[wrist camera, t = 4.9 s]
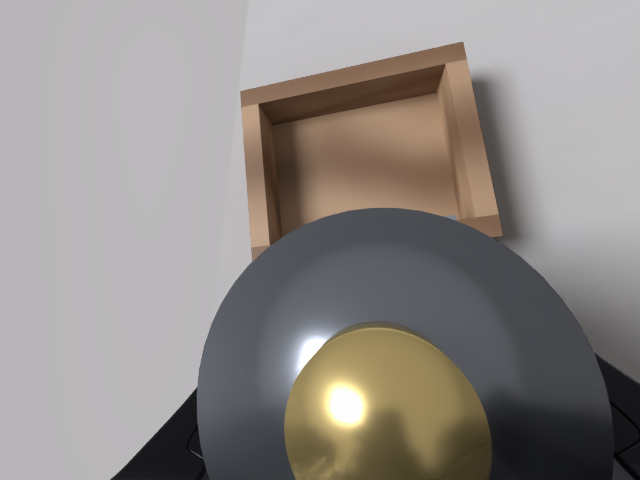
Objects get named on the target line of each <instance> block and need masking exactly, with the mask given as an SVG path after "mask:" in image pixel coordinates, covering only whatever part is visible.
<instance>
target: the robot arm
mask: <svg viewBox="0 0 640 480" xmlns="http://www.w3.org/2000/svg"><path fill="white" fill-rule="evenodd" d="M594 354H595V357H596V359H597V362H598V365H599V368H600V370H601V373H602V376H603V379H604V382H605V385H606V390H607V394H608V399H609V403H610V408H611V413H612V421H613V434H614V463H613V479H612V480H640V384H639V383H638V382H636V381H635V380H633V379H632V378H630V377H629V376H627V375H626V374H624V373H623V372H621V371H620V370H619V369H617V368H616V367H614V366H613V365H611V364H610V363H608V362H607V361H606V360H604V359H603V358H601V357H600V356H599V355H597V354H596V353H594ZM197 388H198V387H197ZM197 388H196V389H195V390H194V392H193V393H192V394H191V395H190V396H189V397H188V399H187V400H186V401H185V402H184V404H182V406H181V407H180V408H179V409H178V410H177V411H176V412H175V413H174V414H173V415H172V417H171V418H170V419H169V420H168V421H167V422H166V423H165V424H164V425H163V426H162V427H161V429H160V430H159V431H158V432H157V433H156V434H155V435H154V436H153V437H152V438H151V439H150V440H149V441H148V442H147V443H146V445H144V447H143V448H142V449H141V450H140V451H139V452H138V453H137V454H136V455H135V456H134V457H133V458H132V460H130V461H129V463H128V464H127V465H126V466H125V467H124V468H123V469H122V470H121V471H119V472H118V473H117V474H116V475H115V476H114V477H113V478H112V479H111V480H210V479H209V476H208V474H207V470H206V466H205V462H204V458H203V454H202V450H201V445H200V437H199V430H198V422H197Z"/></svg>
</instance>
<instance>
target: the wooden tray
mask: <svg viewBox="0 0 640 480" xmlns="http://www.w3.org/2000/svg"><path fill="white" fill-rule="evenodd" d="M240 94H241V108H242V122H243V137H244V151H245V165H246V179H247V193H248V207H249V222H250V236H251V250H252V262H253V261H254V260H255V259H256V258H257V257H258V256H259V255H260V254H261V253H262V252H263V251H264V250H266V249H267V248H268V247H270V246H271V245H272V244H274V243H275V242H276V241H278V240H279V239H281V238H282V237H283V236H285V235H287V234H289V233H290V232H292V231H294V230H296V229H298V228H299V227H301V226H303V225H305V224H308V223H310V222H313V221H315V220H318V219H320V218H323V217H326V216H330V215H334V214H337V213H341V212H345V211H350V210H358V209H366V208H402V209H410V210H418V211H424V212H428V213H431V214H435V215H439V216H449V215H456V217H457V222H460V223H463V224H465V225H468V226H470V227H473V228H475V229H476V230H478V231H480V232H482V233H484V234H486V235H488V236H490V237H491V238H493V239H495V238H498V237H501V236H503V233H502V228H501V223H500V218H499V213H498V208H497V204H496V199H495V194H494V189H493V184H492V179H491V175H490V170H489V165H488V160H487V155H486V150H485V145H484V141H483V136H482V131H481V126H480V121H479V116H478V112H477V107H476V102H475V97H474V92H473V87H472V83H471V78H470V73H469V68H468V63H467V58H466V53H465V49H464V44H463V42H459V43H455V44H450V45H446V46H441V47H437V48H432V49H428V50H423V51H419V52H414V53H410V54H405V55H401V56H396V57H392V58H387V59H383V60H378V61H374V62H369V63H365V64H360V65H356V66H351V67H347V68H342V69H338V70H334V71H329V72H325V73H320V74H316V75H311V76H307V77H302V78H298V79H293V80H289V81H284V82H280V83H275V84H271V85H266V86H262V87H257V88H253V89H248V90H244V91H240Z"/></svg>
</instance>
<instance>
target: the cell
mask: <svg viewBox="0 0 640 480" xmlns="http://www.w3.org/2000/svg"><path fill="white" fill-rule="evenodd" d="M197 422H198V430H199V437H200V445H201V450H202V454H203V458H204V462H205V466H206V470H207V474H208V476H209V479H210V480H612V479H613V463H614V434H613V421H612V413H611V408H610V403H609V399H608V394H607V390H606V385H605V382H604V379H603V376H602V373H601V370H600V368H599V365H598V362H597V359H596V357H595V354H594V352H593V350H592V348H591V346H590V344H589V342H588V340H587V338H586V336H585V334H584V332H583V330H582V328H581V326H580V325H579V323H578V322H577V320H576V319H575V317H574V316H573V314H572V313H571V311H570V310H569V308H568V307H567V305H566V304H565V303H564V301H563V300H562V298H561V297H560V296H559V295H558V294H557V293H556V292H555V290H554V289H553V288H552V287H551V286H550V285H549V284H548V282H547V281H546V280H545V279H544V278H543V277H542V276H541V275H540V274H539V273H538V272H537V271H536V270H534V269H533V268H532V267H531V266H530V265H529V264H528V263H527V262H526V261H524V260H523V259H522V258H521V257H520V256H518V255H517V254H516V253H514V252H513V251H511V250H510V249H508V248H507V247H506V246H504V245H503V244H501V243H500V242H498V241H497V240H495V239H493V238H491V237H490V236H488V235H486V234H484V233H482V232H480V231H478V230H476V229H475V228H473V227H470V226H468V225H465V224H463V223H460V222H457V221H455V220H452V219H450V218H447V217H443V216H439V215H435V214H431V213H428V212H424V211H418V210H410V209H402V208H366V209H358V210H350V211H345V212H341V213H337V214H334V215H330V216H326V217H323V218H320V219H318V220H315V221H313V222H310V223H308V224H305V225H303V226H301V227H299V228H298V229H296V230H294V231H292V232H290V233H289V234H287V235H285V236H283V237H282V238H281V239H279V240H278V241H276V242H275V243H274V244H272V245H271V246H270V247H268V248H267V249H266V250H264V251H263V252H262V253H261V254H260V255H259V256H258V257H257V258H256V259H255V260H254V261H253V262H252V263H251V264H250V265H249V266H248V267H247V268H246V269H245V271H244V272H243V273H242V274H241V275H240V277H239V278H238V279H237V280H236V282H235V283H234V284H233V286H232V287H231V289H230V291H229V292H228V294H227V295H226V297H225V298H224V300H223V302H222V303H221V305H220V308H219V310H218V312H217V314H216V316H215V318H214V320H213V322H212V325H211V328H210V331H209V334H208V337H207V339H206V342H205V345H204V350H203V354H202V359H201V364H200V368H199V377H198V388H197Z"/></svg>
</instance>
